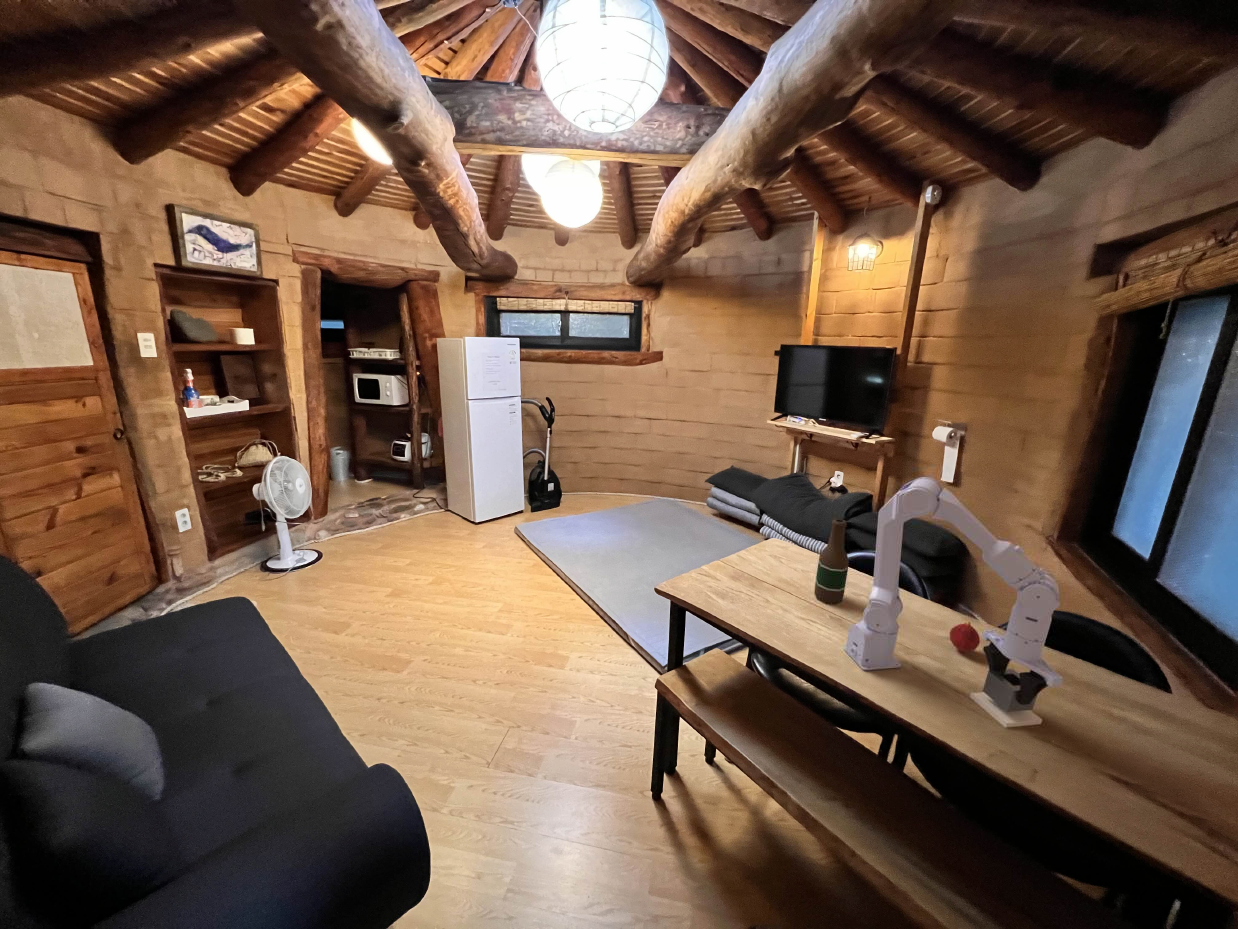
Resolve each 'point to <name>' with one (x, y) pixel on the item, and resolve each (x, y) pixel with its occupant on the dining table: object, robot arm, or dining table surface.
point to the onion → (964, 637)
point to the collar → (1005, 690)
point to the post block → (1005, 712)
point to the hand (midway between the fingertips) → (1009, 692)
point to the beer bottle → (832, 567)
